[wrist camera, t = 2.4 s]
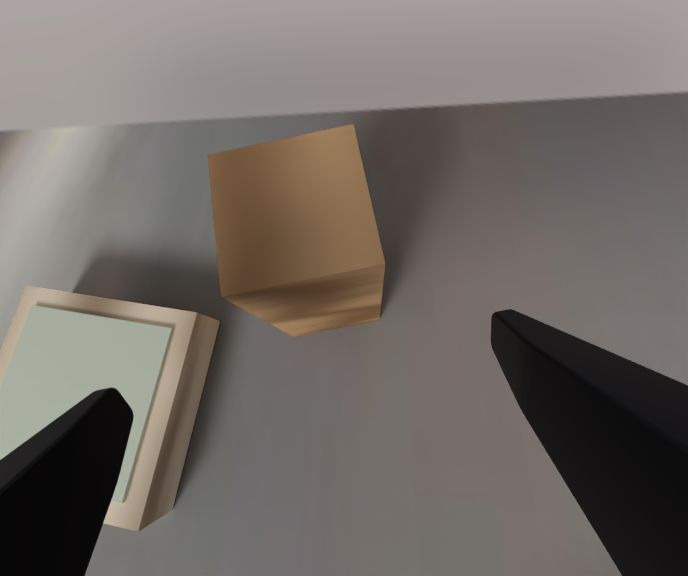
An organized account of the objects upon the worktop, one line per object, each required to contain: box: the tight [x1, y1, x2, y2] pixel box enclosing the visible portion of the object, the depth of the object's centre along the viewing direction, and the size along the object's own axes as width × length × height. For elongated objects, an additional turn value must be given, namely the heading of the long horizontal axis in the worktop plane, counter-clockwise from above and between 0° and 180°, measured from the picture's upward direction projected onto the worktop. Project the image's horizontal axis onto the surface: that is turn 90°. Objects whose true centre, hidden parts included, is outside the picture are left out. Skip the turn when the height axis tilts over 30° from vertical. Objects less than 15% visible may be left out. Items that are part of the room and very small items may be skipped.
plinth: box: [0, 285, 220, 532], centre depth 19 cm, size 10×10×3 cm
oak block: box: [208, 124, 385, 337], centre depth 16 cm, size 5×5×10 cm
